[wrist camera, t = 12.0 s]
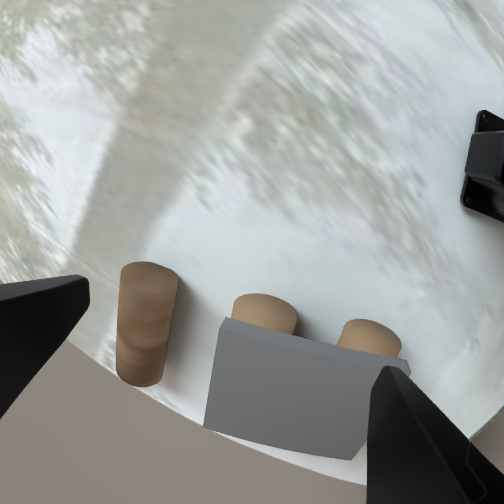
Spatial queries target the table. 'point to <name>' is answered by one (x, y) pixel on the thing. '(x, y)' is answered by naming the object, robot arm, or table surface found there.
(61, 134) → the table surface
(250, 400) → the slab on rollers
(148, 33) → the table surface
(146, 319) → the roller
